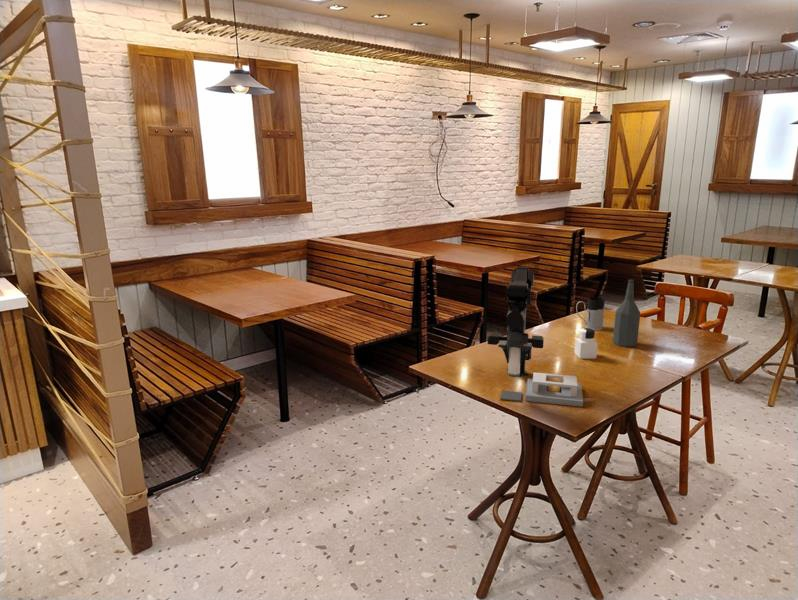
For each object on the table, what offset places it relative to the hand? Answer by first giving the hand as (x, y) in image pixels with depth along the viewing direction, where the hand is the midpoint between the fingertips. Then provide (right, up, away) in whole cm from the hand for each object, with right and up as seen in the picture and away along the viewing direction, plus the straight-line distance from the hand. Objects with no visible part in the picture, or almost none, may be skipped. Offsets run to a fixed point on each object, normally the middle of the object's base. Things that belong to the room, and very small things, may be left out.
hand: (514, 363), depth 191 cm
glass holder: (+55, +8, +84) cm, 100 cm away
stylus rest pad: (0, -12, +3) cm, 13 cm away
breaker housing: (+15, -12, +5) cm, 20 cm away
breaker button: (+15, -11, +5) cm, 20 cm away
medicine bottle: (+40, -2, +44) cm, 59 cm away
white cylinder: (0, -4, +1) cm, 4 cm away
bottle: (+63, +2, +59) cm, 86 cm away
